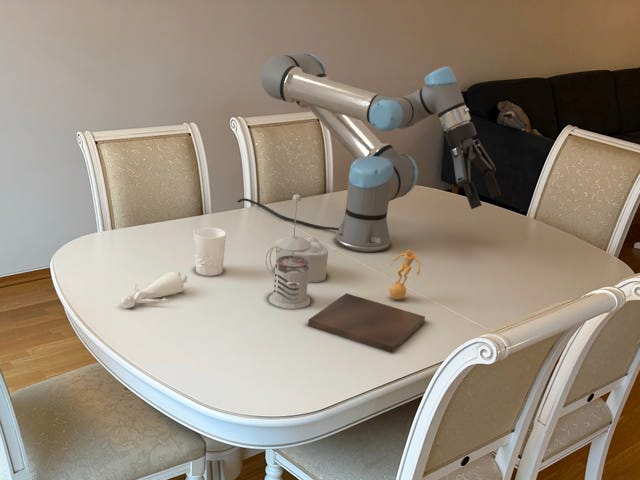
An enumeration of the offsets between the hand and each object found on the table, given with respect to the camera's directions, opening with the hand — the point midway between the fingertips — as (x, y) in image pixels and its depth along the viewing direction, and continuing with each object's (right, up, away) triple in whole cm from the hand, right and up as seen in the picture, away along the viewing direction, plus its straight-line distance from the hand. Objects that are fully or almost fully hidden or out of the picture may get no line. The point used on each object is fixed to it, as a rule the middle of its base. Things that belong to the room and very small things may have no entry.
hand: (486, 201), depth 190 cm
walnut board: (-36, -35, -34) cm, 61 cm away
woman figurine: (-84, -29, -29) cm, 94 cm away
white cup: (-74, -21, -13) cm, 78 cm away
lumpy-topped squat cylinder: (-50, -21, -11) cm, 55 cm away
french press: (-54, -29, -25) cm, 66 cm away
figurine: (-27, -28, -20) cm, 44 cm away
